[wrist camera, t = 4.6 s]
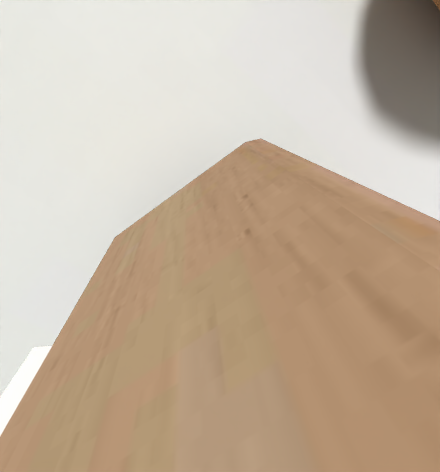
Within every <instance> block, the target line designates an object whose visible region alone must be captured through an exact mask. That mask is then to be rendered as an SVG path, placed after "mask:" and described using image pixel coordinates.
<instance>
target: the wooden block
mask: <svg viewBox="0 0 440 472" xmlns="http://www.w3.org/2000/svg"><path fill="white" fill-rule="evenodd" d="M0 472H440V221H438V220H436V219H434V218H432V217H430V216H428V215H425V214H423V213H421V212H419V211H417V210H414V209H412V208H410V207H408V206H406V205H404V204H401V203H399V202H397V201H395V200H393V199H391V198H388V197H386V196H384V195H382V194H380V193H378V192H375V191H373V190H371V189H369V188H367V187H365V186H362V185H360V184H358V183H356V182H354V181H352V180H349V179H347V178H345V177H343V176H341V175H339V174H336V173H334V172H332V171H330V170H328V169H326V168H323V167H321V166H319V165H317V164H315V163H312V162H310V161H308V160H306V159H304V158H302V157H299V156H297V155H295V154H293V153H291V152H289V151H286V150H284V149H282V148H280V147H278V146H276V145H273V144H271V143H269V142H267V141H265V140H263V139H257V140H253V141H249V142H245V143H244V144H242V145H241V146H240V147H238V148H237V149H235V150H234V151H233V152H231V153H230V154H229V155H227V156H226V157H225V158H223V159H222V160H220V161H219V162H218V163H216V164H215V165H214V166H212V167H211V168H209V169H208V170H207V171H205V172H204V173H203V174H201V175H200V176H198V177H197V178H196V179H194V180H193V181H192V182H190V183H189V184H187V185H186V186H185V187H183V188H182V189H181V190H179V191H178V192H177V193H175V194H174V195H172V196H171V197H170V198H168V199H167V200H166V201H164V202H163V203H161V204H160V205H159V206H157V207H156V208H155V209H153V210H152V211H150V212H149V213H148V214H146V215H145V216H144V217H142V218H141V219H139V220H138V221H137V222H135V223H134V224H133V225H131V226H130V227H128V228H127V229H126V230H124V231H123V232H122V233H120V234H119V235H118V236H116V237H115V238H114V240H113V242H112V243H111V245H110V247H109V249H108V250H107V252H106V254H105V255H104V257H103V259H102V261H101V262H100V264H99V266H98V268H97V269H96V271H95V273H94V275H93V276H92V278H91V280H90V281H89V283H88V285H87V287H86V288H85V290H84V292H83V294H82V295H81V297H80V299H79V301H78V302H77V304H76V306H75V307H74V309H73V311H72V313H71V314H70V316H69V318H68V320H67V321H66V323H65V325H64V326H63V328H62V330H61V332H60V333H59V335H58V337H57V339H56V340H55V342H54V344H53V346H52V347H51V349H50V351H49V352H48V354H47V356H46V358H45V359H44V361H43V363H42V365H41V366H40V368H39V370H38V372H37V373H36V375H35V377H34V378H33V380H32V382H31V384H30V385H29V387H28V389H27V391H26V392H25V394H24V396H23V398H22V399H21V401H20V403H19V404H18V406H17V408H16V410H15V411H14V413H13V415H12V417H11V418H10V420H9V422H8V424H7V425H6V427H5V429H4V430H3V432H2V434H1V436H0Z"/></svg>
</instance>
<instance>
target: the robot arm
mask: <svg viewBox="0 0 440 472" xmlns="http://www.w3.org/2000/svg"><path fill="white" fill-rule="evenodd" d="M52 346H53V345H51V346H42V347H33V348H32V350H31V351H30V353H29V355H28V356H27V358H26V359H25V361H24V362H23V364H22V365H21V367H20V368H19V370H18V371H17V373H16V374H15V376H14V377H13V379H12V380H11V382H10V383H9V385H8V386H7V388H6V389H5V391H4V392H3V394H2V395H1V397H0V436H1V434H2V432H3V430H4V429H5V427H6V425H7V424H8V422H9V420H10V418H11V417H12V415H13V413H14V411H15V410H16V408H17V406H18V404H19V403H20V401H21V399H22V398H23V396H24V394H25V392H26V391H27V389H28V387H29V385H30V384H31V382H32V380H33V378H34V377H35V375H36V373H37V372H38V370H39V368H40V366H41V365H42V363H43V361H44V359H45V358H46V356H47V354H48V352H49V351H50V349H51V347H52Z"/></svg>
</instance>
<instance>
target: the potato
mask: <svg viewBox="0 0 440 472" xmlns="http://www.w3.org/2000/svg"><path fill="white" fill-rule="evenodd" d="M433 2H434V3H435V5H436V6H437V7H438V9H439V10H440V0H433Z"/></svg>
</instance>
